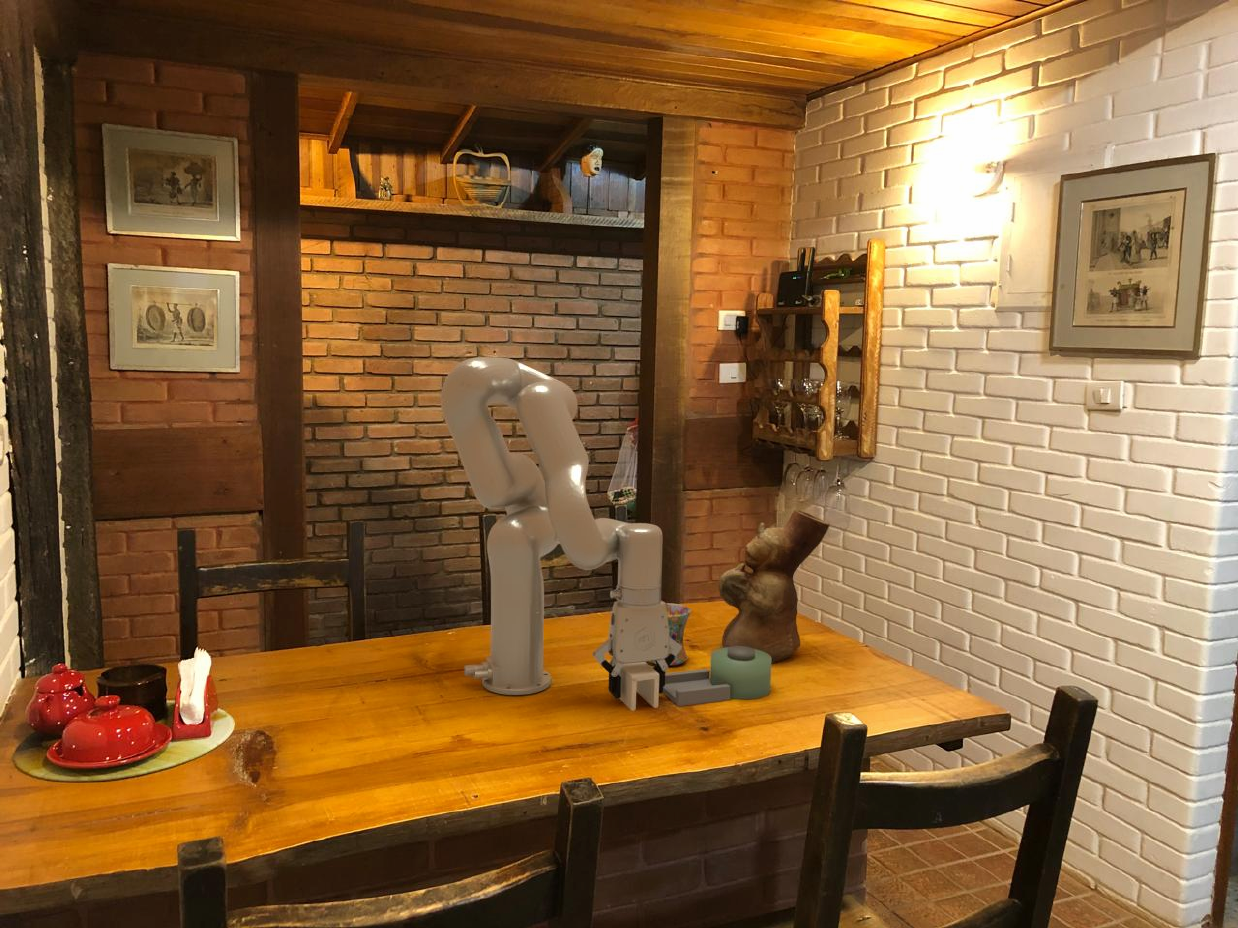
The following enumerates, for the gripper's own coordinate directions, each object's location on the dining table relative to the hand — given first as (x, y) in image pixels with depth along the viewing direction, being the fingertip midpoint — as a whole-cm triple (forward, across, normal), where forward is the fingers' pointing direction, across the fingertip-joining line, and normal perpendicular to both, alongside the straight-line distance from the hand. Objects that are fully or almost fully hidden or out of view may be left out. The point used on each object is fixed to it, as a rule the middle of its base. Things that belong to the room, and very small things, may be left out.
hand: (636, 692), depth 161 cm
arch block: (+1, 0, 0) cm, 1 cm away
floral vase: (+2, +13, +19) cm, 23 cm away
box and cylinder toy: (+1, +16, 0) cm, 16 cm away
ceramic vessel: (+2, +36, +16) cm, 39 cm away
